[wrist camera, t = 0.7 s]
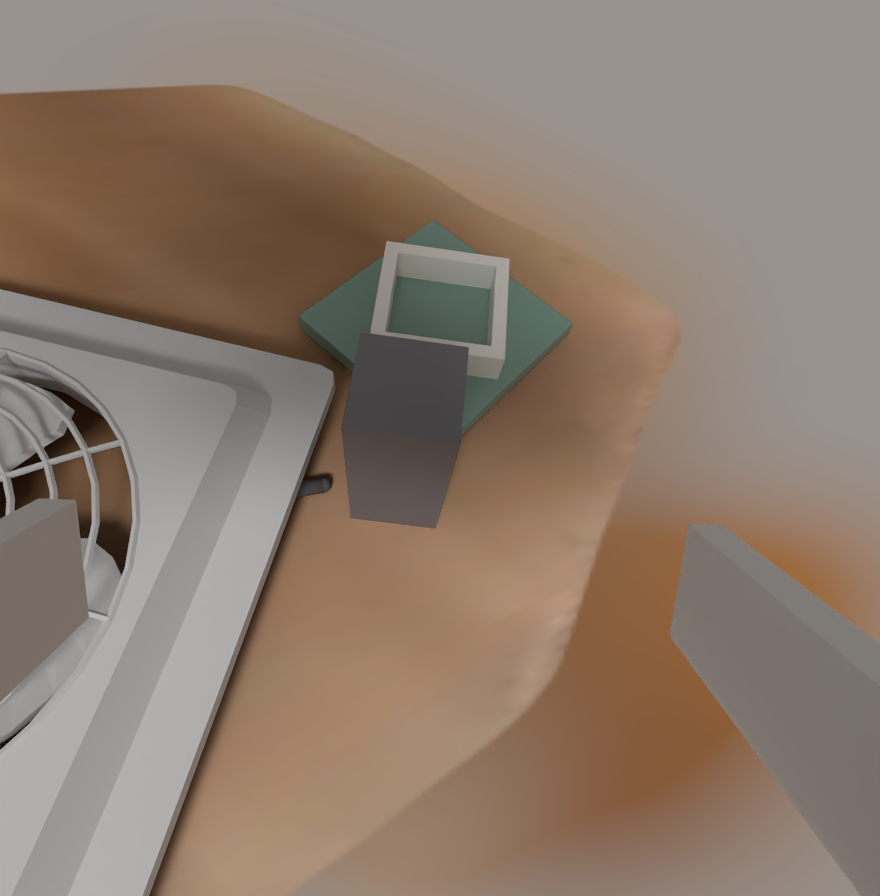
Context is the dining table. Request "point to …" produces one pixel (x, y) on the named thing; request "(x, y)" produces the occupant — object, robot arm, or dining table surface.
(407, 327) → the header board
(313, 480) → the fan lead
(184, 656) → the ventilation fan
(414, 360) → the plug
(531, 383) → the dining table surface
